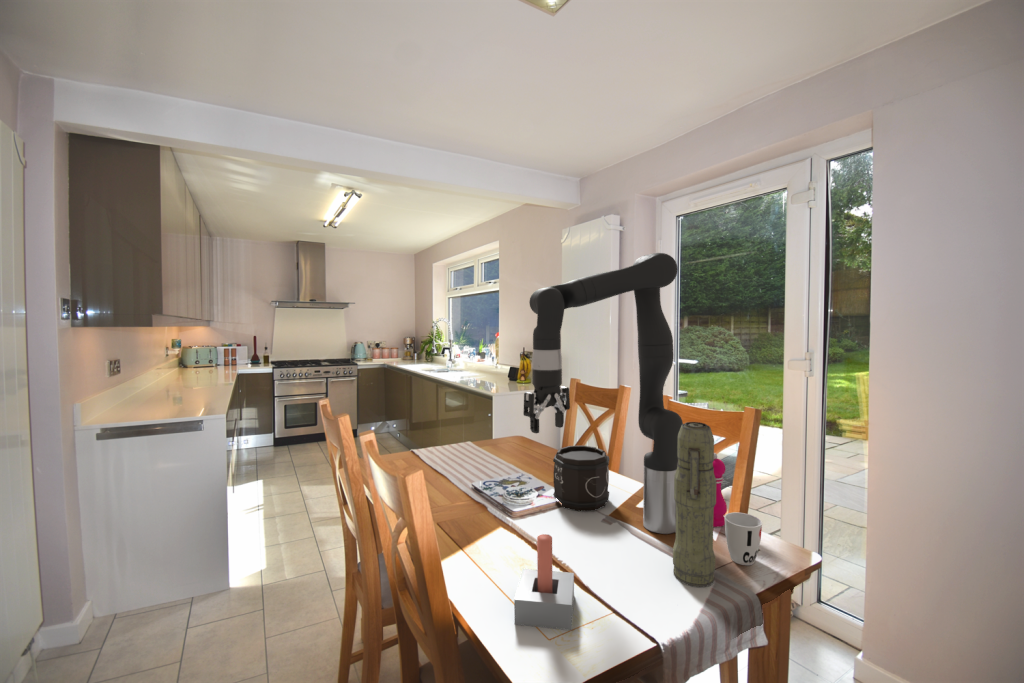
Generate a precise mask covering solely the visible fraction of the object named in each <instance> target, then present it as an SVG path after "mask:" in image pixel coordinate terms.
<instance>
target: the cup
mask: <svg viewBox="0 0 1024 683" xmlns="http://www.w3.org/2000/svg"><path fill="white" fill-rule="evenodd" d="M724 517H725V524H724V530H725V531H724V532H725V533H724V534H725V540H726V546H727V550H728V553H729V556H730V559H731V560H732V561H733V563H735V564H738V565H742V566H751V565H754V563H755V561H756V559H757V557H758V554H759V549H760V544H761V541H762V540H761V539H762V531H763V530H762V528H763V521H762V520H761V519H760V518H759V517H757V516H754V515H752V514H750V513H747V512H746V513H744V512H737V511H736V512H728V513H726V514H725V515H724Z"/></svg>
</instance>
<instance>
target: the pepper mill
mask: <svg viewBox="0 0 1024 683" xmlns="http://www.w3.org/2000/svg"><path fill="white" fill-rule="evenodd" d="M713 467H714V475H715V478H716V504H715V506H714V512H713V528H719V527H725V515H726V514H727V512H728V506H727V501H726V500H725V497H724V496H723V491H722V483H723V482H724V476H723V475H724V474H725V473H726V465H725V463H724V461H722V460H721V459H719V458H718V454H717V453H716V452H714V461H713Z"/></svg>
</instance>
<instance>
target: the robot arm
mask: <svg viewBox="0 0 1024 683" xmlns="http://www.w3.org/2000/svg"><path fill="white" fill-rule="evenodd" d="M678 267H679V266H678V264H677V261H676V259H675V258H674V257H673V256H671V255H670V254H668V253H664V252H656V253H650V254H645V255H641V256H640V257H638V258H636V260H635V261H634V263H633V265H630V266H627V267H624V268H619V269H615V270H609V271H604V272H600V273H595V274H590V275H587V276H583V277H578V278H576V279H575V278H574V279H573V280H570V281H567V282H565V283H560V284H555V285H550V286H547V287H542V288H539V289H536V290H535V291H533V293H532V294H531V295H530V297H529V301H528V302H529V307H530V309H531V311H532V312H533V313H534V314H536V315H537V316H536V318H537V319H536V325H535V328H534V329H533V332H532V348H533V350H532V358H531V365H532V367H531V370H532V372H531V373H532V374H531V377H532V381H531V382H532V386H533V387H534V390H533V392H528V391H525V392H524V393H523V411H522V412H523V416H524V417H527V418H529V426H530V428H529V429H530V431H531V433H534V434H540V416H541V414H542V412H544V411H545V409H547V408H549V407H552V408H553V409H554V411H555V412H554V418H555V419H554V426H555V427H556V428H563V427H564V423H565V421H564V420H565V415H564V414H565V413H566V411H568V410H570V408H571V403H570V388H569V387H567V386H562V385H563V357H562V349H561V348H562V347H561V346H562V343H561V342H562V341H561V339H562V338H561V330H562V325H563V322H564V321H563V320H564V315H565V310H567V309H570V308H579V307H583V306H587V305H591V304H594V303H596V302H597V303H598V302H600V301H603V300H606V299H609V298H612V297H615V296H619V295H622V294H625V293H630V292H633V293H634V294H633V295H634V301H635V306H636V307H635V308H636V309H635V310H636V327H637V351H638V352H637V356H638V357H637V358H638V364H639V366H638V370H639V403H638V420H637V421H638V427H639V430H640V433H641V434H642V435H643V436H644V437H646V438H647V439H651V440H652V441H653V446H652V447H653V448H652V451H649V452H646V453H645V454H644V456H643V494H642V495H643V502H642V504H643V506H642V507H643V508H642V510H643V511H642V513H643V516H642V522H643V524H642V525H643V527H644V528H645V529H646V530H647V531H650V532H652V533H657V534H663V535H668V534H674V533H676V502H675V500H674V475H675V472H676V470H677V463H678V457H677V450H678V433H679V431H680V428H681V425H682V424H684V423H683V420H682V417H681V416H680V414H678V413H677V412H675V411H673V410H670V409H667V408H665V405H664V386H665V383H666V381H667V379H668V377H669V374H670V372H671V369H672V366H673V365H674V356H675V355H674V339H673V332H672V330H671V328H670V325H669V324H668V323H669V322H668V321H667V319H666V316H665V313H664V312H663V308H662V304H661V288H662V289H663V288H665V287H667V286H669V285H671V283H673V282H674V280H675V279H676V277H677V274H678V269H679V268H678Z"/></svg>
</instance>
